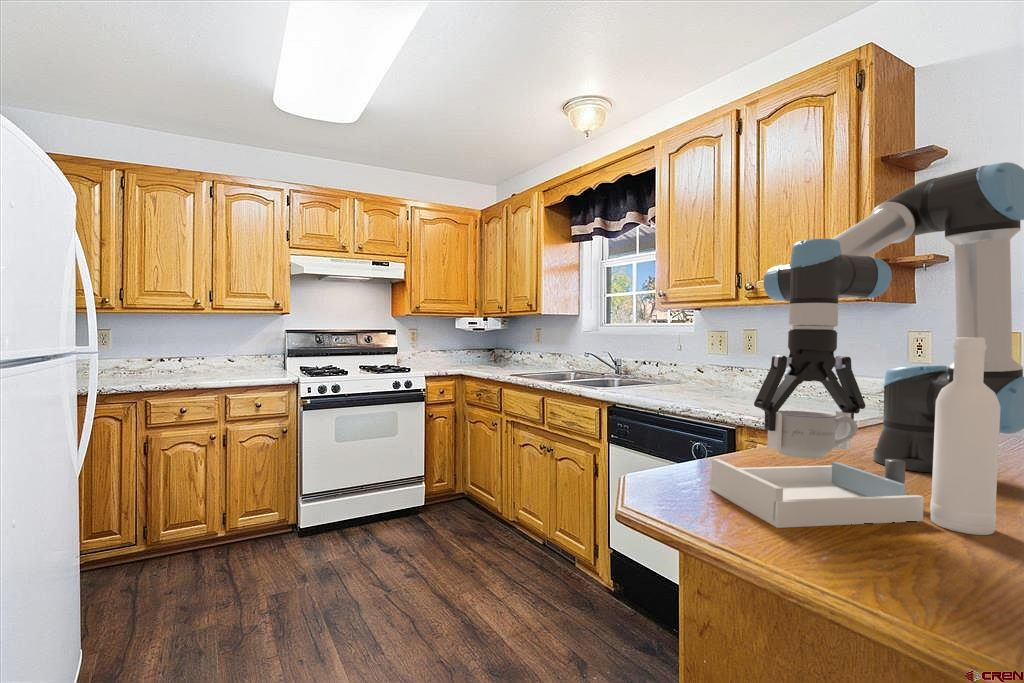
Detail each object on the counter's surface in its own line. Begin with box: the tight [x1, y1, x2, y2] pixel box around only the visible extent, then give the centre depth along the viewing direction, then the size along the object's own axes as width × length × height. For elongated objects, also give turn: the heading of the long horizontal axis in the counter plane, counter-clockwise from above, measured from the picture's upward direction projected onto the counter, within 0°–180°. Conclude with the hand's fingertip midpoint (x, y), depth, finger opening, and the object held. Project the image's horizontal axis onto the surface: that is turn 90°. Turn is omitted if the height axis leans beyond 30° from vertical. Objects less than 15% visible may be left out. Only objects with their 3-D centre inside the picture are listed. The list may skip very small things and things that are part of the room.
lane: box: [709, 458, 925, 529], centre depth 95 cm, size 33×20×6 cm, turn 99°
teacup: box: [777, 409, 858, 460], centre depth 94 cm, size 14×11×8 cm
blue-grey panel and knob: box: [831, 459, 907, 497], centre depth 96 cm, size 8×15×6 cm, turn 9°
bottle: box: [929, 336, 1000, 536], centre depth 84 cm, size 8×8×30 cm
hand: (808, 449), depth 94 cm, fingers closed on teacup, 13 cm apart
